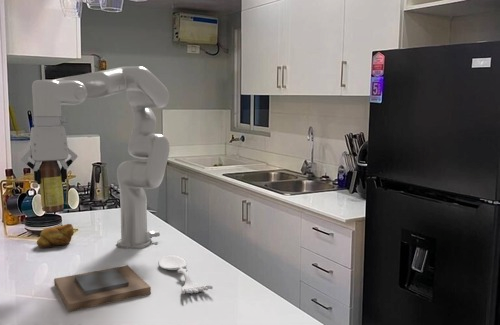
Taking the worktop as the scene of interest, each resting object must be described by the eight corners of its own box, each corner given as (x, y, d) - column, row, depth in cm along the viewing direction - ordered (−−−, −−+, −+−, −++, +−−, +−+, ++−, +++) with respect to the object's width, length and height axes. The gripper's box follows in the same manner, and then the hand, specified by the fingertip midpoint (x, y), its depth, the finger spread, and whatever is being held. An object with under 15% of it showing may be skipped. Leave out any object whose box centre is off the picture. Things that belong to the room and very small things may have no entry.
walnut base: (127, 271, 149) (127, 262, 149) (150, 293, 133) (150, 283, 132) (54, 285, 137) (53, 275, 137) (69, 311, 121) (68, 300, 120)
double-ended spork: (182, 302, 128) (182, 290, 127) (155, 264, 157) (154, 254, 156) (214, 297, 132) (214, 285, 131) (181, 260, 160) (181, 251, 160)
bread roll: (40, 251, 167) (39, 229, 166) (32, 244, 175) (31, 223, 173) (76, 244, 175) (75, 223, 174) (67, 238, 183) (66, 218, 182)
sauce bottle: (68, 209, 143) (65, 144, 141) (53, 213, 138) (50, 146, 135) (51, 207, 146) (48, 143, 143) (36, 211, 140) (32, 145, 137)
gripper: (76, 121, 145) (78, 178, 148) (14, 122, 137) (17, 183, 139) (81, 122, 139) (83, 182, 142) (16, 124, 130) (20, 187, 133)
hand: (51, 182), depth 140 cm, fingers closed on sauce bottle, 6 cm apart
